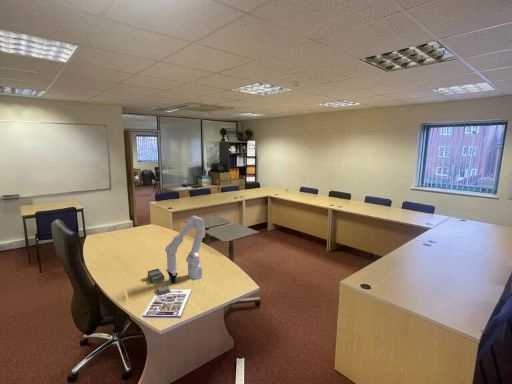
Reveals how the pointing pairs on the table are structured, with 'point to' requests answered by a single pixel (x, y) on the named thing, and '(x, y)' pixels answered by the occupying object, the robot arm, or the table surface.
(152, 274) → the stone block
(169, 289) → the tower base
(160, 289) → the tower mid
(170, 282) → the teal block
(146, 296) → the table surface
